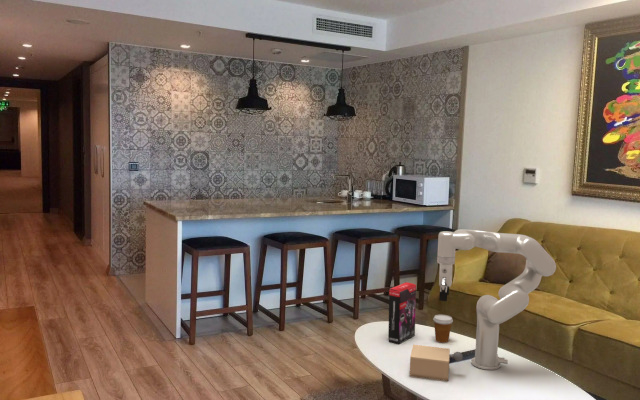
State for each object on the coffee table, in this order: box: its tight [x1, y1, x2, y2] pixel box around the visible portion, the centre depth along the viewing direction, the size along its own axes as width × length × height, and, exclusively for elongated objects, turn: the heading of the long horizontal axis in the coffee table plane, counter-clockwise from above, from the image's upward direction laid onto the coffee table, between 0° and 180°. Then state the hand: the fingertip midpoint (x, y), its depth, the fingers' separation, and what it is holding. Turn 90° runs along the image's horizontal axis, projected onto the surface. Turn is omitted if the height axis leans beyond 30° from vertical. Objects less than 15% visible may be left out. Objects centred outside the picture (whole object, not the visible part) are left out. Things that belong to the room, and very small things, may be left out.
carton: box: [409, 358, 450, 382], centre depth 238 cm, size 16×14×8 cm
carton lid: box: [409, 344, 464, 364], centre depth 236 cm, size 22×14×4 cm
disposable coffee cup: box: [432, 314, 454, 344], centre depth 275 cm, size 10×10×12 cm
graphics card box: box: [387, 281, 417, 345], centre depth 275 cm, size 17×7×27 cm, turn 143°
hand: (444, 297), depth 243 cm, fingers open, 9 cm apart
